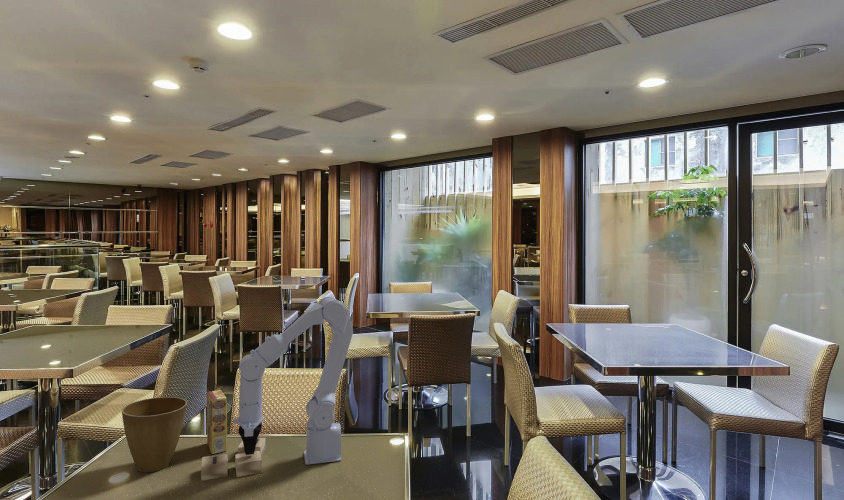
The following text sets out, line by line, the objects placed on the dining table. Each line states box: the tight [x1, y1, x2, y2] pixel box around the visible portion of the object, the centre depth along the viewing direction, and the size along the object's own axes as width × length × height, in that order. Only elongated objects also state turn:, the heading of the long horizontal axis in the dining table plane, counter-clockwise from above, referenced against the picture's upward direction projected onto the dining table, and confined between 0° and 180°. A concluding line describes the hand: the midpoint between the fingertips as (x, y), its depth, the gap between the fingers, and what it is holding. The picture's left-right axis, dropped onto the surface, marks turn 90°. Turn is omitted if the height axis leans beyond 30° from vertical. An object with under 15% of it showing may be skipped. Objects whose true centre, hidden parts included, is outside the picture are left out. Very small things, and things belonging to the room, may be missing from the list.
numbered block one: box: [200, 453, 229, 481], centre depth 120 cm, size 6×6×4 cm
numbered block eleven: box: [237, 437, 266, 457], centre depth 131 cm, size 6×6×4 cm
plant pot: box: [121, 396, 188, 473], centre depth 123 cm, size 15×15×16 cm
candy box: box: [206, 389, 228, 455], centre depth 135 cm, size 9×4×15 cm, turn 33°
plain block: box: [234, 451, 263, 478], centre depth 122 cm, size 6×6×4 cm
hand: (249, 453), depth 122 cm, fingers closed
